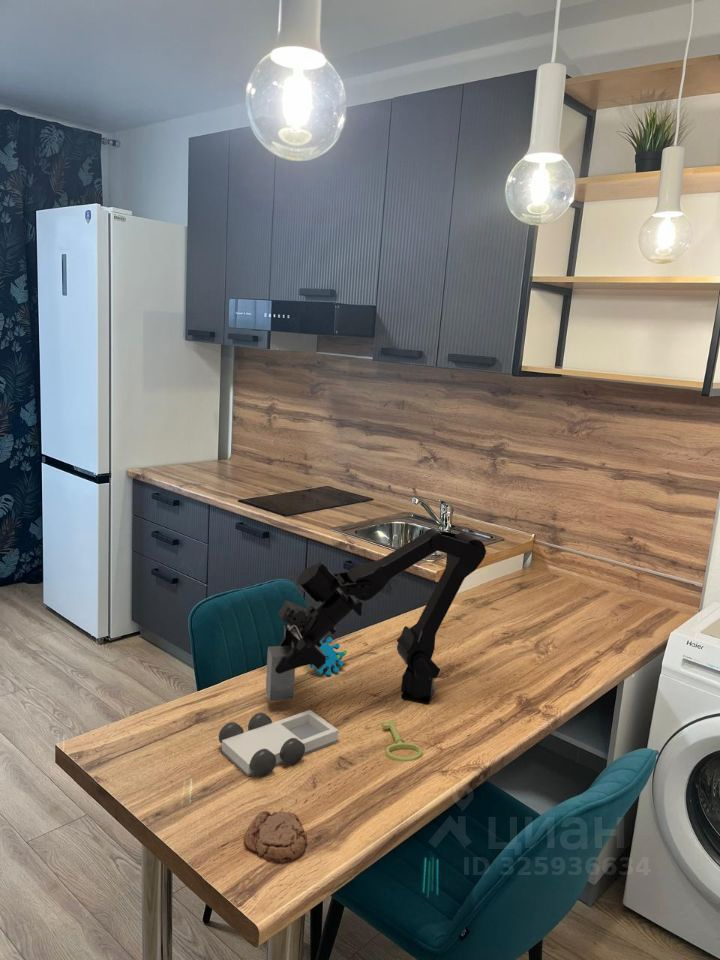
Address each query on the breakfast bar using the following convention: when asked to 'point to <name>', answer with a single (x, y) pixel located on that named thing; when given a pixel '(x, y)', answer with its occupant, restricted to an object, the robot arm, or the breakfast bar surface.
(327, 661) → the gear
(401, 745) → the key
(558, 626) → the breakfast bar surface
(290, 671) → the block
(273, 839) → the cookie
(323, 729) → the chassis
